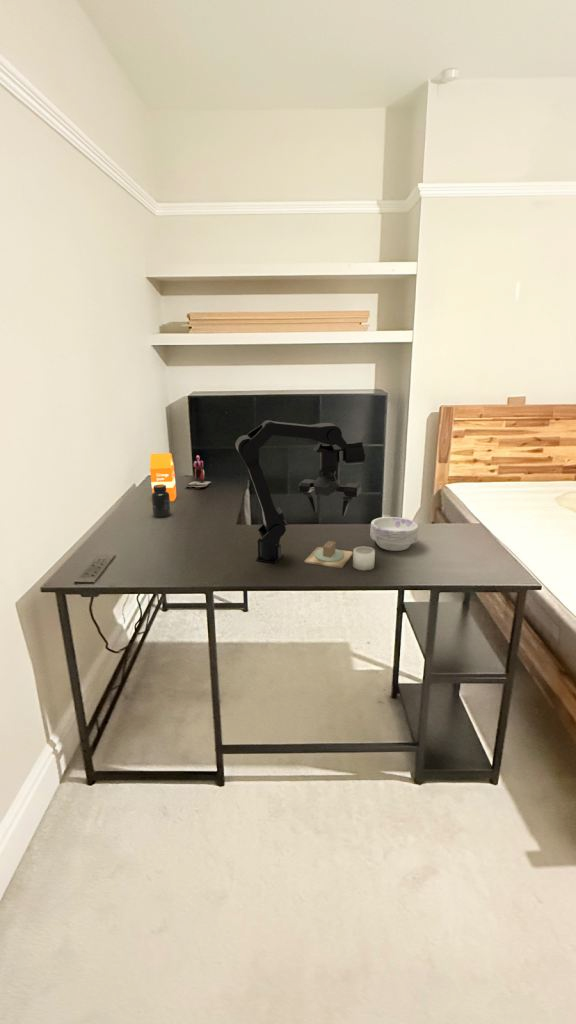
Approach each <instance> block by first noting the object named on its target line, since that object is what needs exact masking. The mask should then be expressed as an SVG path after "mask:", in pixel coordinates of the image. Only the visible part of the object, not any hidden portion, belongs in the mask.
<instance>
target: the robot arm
mask: <svg viewBox="0 0 576 1024" xmlns="http://www.w3.org/2000/svg"><path fill="white" fill-rule="evenodd" d="M342 433H343V432H342V430H341V428H340V427H339V426H337V425H336V424H333V423H331V422H321V423H320V422H319V423H314V424H305V423H303V424H301V423H292V422H283V421H281V422H280V421H273V420H264V421H263V422H262V423H261V424H260V425H259V426H256V427H255V428H254V429H252V430H251V431H250V432H248V433H247V434H246V435H245V434H244V435H241V436H239V437H238V438H237V439H236V441H235V448H236V451H237V453H238V454H239V456H240V458H241V459H242V461H243V463H244V464H245V466H246V468H247V470H248V474H249V476H250V479H251V481H252V484H253V488H254V490H255V494H256V495H257V498H258V501H259V504H260V507H261V514H262V522H263V523H262V524H261V526H260V527H259V528H257V530H256V531H257V533H258V536H259V538H258V539H257V540H256V541H257V557H256V558H255V561H257V562H262V563H263V562H264V563H270V564H275V563H276V562H278V560H280V559H281V558H282V557H283V554H282V544H281V542H280V541H281V538H282V537H283V536H284V535H285V533H286V530H287V527H286V526H288V524H287V522H286V520H285V517H284V513H283V510H282V509H281V508H280V507H277V508H276V507H275V505H274V502H273V499H272V496H271V493H270V490H269V488H268V485H267V482H266V479H265V475H264V473H263V470H262V467H261V461H260V459H261V458H260V451H259V450H260V448H262V447H263V446H264V445H265V444H266V442H268V441H269V439H271V438H272V437H273V436H276V437H289V438H297V439H298V438H299V439H307V440H308V439H310V440H313V441H316V442H318V444H317V445H316V446H315V447H314V448H313V451H315V452H316V453H320V454H319V455H320V457H319V459H320V464H319V465H320V466H319V467H320V469H319V470H318V476H317V478H316V479H310V478H308V479H307V478H305V479H303V480H302V481H300V482H299V483H298V487H297V488H298V490H297V491H298V492H299V493H302V495H305V496H306V497H307V498H308V500H309V503H310V505H311V509H312V510H313V513H314V514H316V513H317V511H318V496H319V495H321V496H324V497H325V496H326V497H327V496H330V495H331V493H332V492H341V493H343V495H344V496H343V497H342V501H343V502H342V509H341V510H342V511H341V516H342V517H345V515H346V513H347V510H348V508H349V505H350V502H351V501H352V500H353V499H354V498H357V497H358V496H359V495H361V493H362V486H361V484H360V483H356V482H355V483H354V482H348V483H347V484H346V485H340V483H341V480H340V471H341V467H340V462H341V463H343V465H345V466H346V465H358V464H359V465H360V464H364V462H365V460H366V454H365V448H364V446H363V442H362V441H361V440H358V441H351V442H349V441H348V442H346V440H345V439H344V438H343V434H342ZM324 444H325V445H324ZM335 445H336V447H333V446H335Z"/></svg>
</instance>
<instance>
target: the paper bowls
mask: <svg viewBox="0 0 576 1024" xmlns="http://www.w3.org/2000/svg"><path fill="white" fill-rule="evenodd" d="M369 532H370V535H369V536H370V538H371V539H372V541H375V542H376V544H377V546H378V547H379V548H381V549H383V550H386V551H391V552H392V551H393V552H398V551H404V550H407V549H408V548H409V547H410V546H411V545H413V544H416V542H417V541H418V536H419V535H418V534H419V533H418V532H419V524H418V523H417V522H415V521H414V520H411V519H408V518H406V517H405V518H404V517H398V516H384V517H383V516H382V517H377V518H374V519H373V520H371V522H370V531H369Z"/></svg>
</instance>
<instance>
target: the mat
mask: <svg viewBox="0 0 576 1024" xmlns="http://www.w3.org/2000/svg"><path fill="white" fill-rule="evenodd" d="M320 549H323V546H317V547H316V548H315V549H314V550H313V551H312V552H311V553H310V554H309V555H308V557H306V559H305V560H304V563H306V564H312V565H319V566H324V567H331V568H338V569H343V568H344V566H345V565H346V564H347V563H348V561H349V560H350V559H351V557H353V551H350V550H345V549H344V550H342V549H339V550H340V551H342V552H343V553H344V558H343V559H342V560H340V561H336V562H324V561H320V560H318V559H316V558H315V552H316V551H318V550H320Z"/></svg>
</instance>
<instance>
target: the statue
mask: <svg viewBox="0 0 576 1024" xmlns="http://www.w3.org/2000/svg"><path fill="white" fill-rule="evenodd" d="M195 458H196V460H195V461H193V467H194V468H195V469H194V476H195V480H200V481H192V482H190V483H188V484H187V485H186V486H185V488H187V487H190V488H189V489H191V490H192V489H196V490H200V489H201V488H204V487H205V488H206V487H207V486H208V485H211V481H204V480H205V470H204V468H203V467H204V461H203V460H200V455H196V457H195ZM191 487H195V488H191Z"/></svg>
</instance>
